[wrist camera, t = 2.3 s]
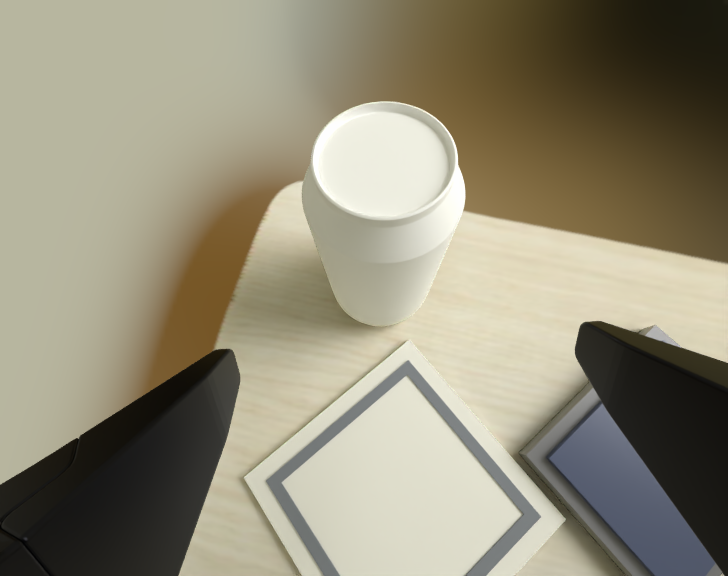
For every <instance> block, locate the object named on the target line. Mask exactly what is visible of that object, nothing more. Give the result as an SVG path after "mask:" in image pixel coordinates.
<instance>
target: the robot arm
mask: <svg viewBox="0 0 728 576" xmlns="http://www.w3.org/2000/svg"><path fill="white" fill-rule="evenodd" d="M575 355H576V358H577V360H578V362H579V364H580V365H581V367H582V369H583V371H584V372H585V374H586V376H587V378H588V379H589V381H590V383H591V385H592V386H593V388H594V390H595V392H596V393H597V395H598V397H599V399H600V400H601V402H602V404H603V405H604V407H605V409H606V410H607V412H608V413H609V415H610V416H611V418H612V419H613V420H614V422H615V423H616V425H617V426H618V427H619V429H620V430H621V432H622V433H623V434H624V436H625V437H626V439H627V440H628V441H629V443H630V444H631V446H632V447H633V448H634V450H635V451H636V453H637V454H638V455H639V457H640V458H641V460H642V461H643V462H644V464H645V465H646V467H647V468H648V469H649V471H650V472H651V474H652V475H653V476H654V478H655V479H656V481H657V482H658V483H659V485H660V486H661V488H662V489H663V490H664V492H665V493H666V495H667V496H668V497H669V499H670V500H671V502H672V503H673V504H674V506H675V507H676V509H677V510H678V511H679V513H680V514H681V516H682V517H683V518H684V520H685V521H686V523H687V524H688V525H689V527H690V528H691V530H692V531H693V532H694V534H695V535H696V537H697V538H698V539H699V541H700V542H701V544H702V545H703V546H704V548H705V549H706V551H707V552H708V553H709V555H710V556H711V558H712V559H713V560H714V562H715V563H716V565H717V566H718V567H719V569H720V570H721V572H722V573H723V574H724V576H728V363H726V362H723V361H720V360H717V359H714V358H711V357H708V356H705V355H702V354H699V353H696V352H693V351H690V350H687V349H684V348H681V347H678V346H675V345H672V344H669V343H665V342H662V341H659V340H656V339H653V338H650V337H647V336H644V335H641V334H638V333H635V332H632V331H629V330H626V329H623V328H620V327H617V326H614V325H611V324H608V323H605V322H602V321H591V322H584V323H582V324H581V326H580V328H579V332H578V337H577V341H576V346H575ZM239 385H240V373H239V369H238V366H237V362H236V359H235V355H234V352H233V351H232V350H231V349H218V350H214V351H212V352H211V353H209V354H208V355H206V356H205V357H203V358H201V359H200V360H198V361H197V362H195V363H194V364H192V365H190V366H189V367H187V368H186V369H184V370H183V371H181V372H179V373H178V374H176V375H175V376H173V377H172V378H170V379H168V380H167V381H165V382H164V383H162V384H161V385H159V386H158V387H156V388H154V389H153V390H151V391H150V392H148V393H146V394H145V395H143V396H142V397H140V398H139V399H137V400H135V401H134V402H132V403H131V404H129V405H128V406H126V407H124V408H123V409H121V410H120V411H118V412H117V413H115V414H113V415H112V416H110V417H109V418H107V419H106V420H104V421H102V422H101V423H99V424H98V425H96V426H95V427H93V428H91V429H90V430H88V431H87V432H85V433H84V434H82V435H81V436H80V437H79V439H78V438H76V439H74V440H72V441H71V442H69V443H68V444H66V445H65V446H63V447H61V448H60V449H58V450H57V451H55V452H54V453H52V454H50V455H49V456H47V457H45V458H44V459H42V460H41V461H39V462H37V463H36V464H34V465H33V466H31V467H29V468H28V469H26V470H24V471H23V472H21V473H19V474H18V475H16V476H14V477H12V478H11V479H9V480H7V481H6V482H4V483H2V484H1V485H0V576H178V575H179V572H180V569H181V567H182V564H183V561H184V558H185V555H186V552H187V550H188V547H189V544H190V541H191V538H192V536H193V533H194V530H195V527H196V524H197V521H198V519H199V516H200V513H201V510H202V507H203V504H204V502H205V499H206V496H207V493H208V490H209V488H210V485H211V482H212V479H213V476H214V473H215V471H216V468H217V465H218V462H219V459H220V457H221V454H222V451H223V448H224V445H225V442H226V439H227V436H228V432H229V428H230V424H231V420H232V415H233V411H234V407H235V402H236V398H237V394H238V389H239Z"/></svg>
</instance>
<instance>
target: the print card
mask: <svg viewBox="0 0 728 576" xmlns="http://www.w3.org/2000/svg"><path fill="white" fill-rule="evenodd" d="M243 478H244V479H245V481H246V483H247V484H248V486H249V488H250V489H251V491H252V493H253V494H254V496H255V498H256V499H257V501H258V503H259V504H260V506H261V508H262V509H263V511H264V513H265V514H266V516H267V518H268V519H269V521H270V523H271V525H272V526H273V528H274V530H275V531H276V533H277V535H278V536H279V538H280V540H281V541H282V543H283V545H284V546H285V548H286V550H287V551H288V553H289V555H290V556H291V558H292V560H293V561H294V563H295V565H296V567H297V568H298V570H299V572H300V573H301V575H302V576H515V575H516V574H517V573H518V572H519V571H520V569H521V568H522V567H523V566H524V565H525V564H526V563H527V562H528V561H529V560H530V558H531V557H532V556H533V555H534V554H535V553H536V552H537V551H538V550H539V549H540V548H541V546H542V545H543V544H544V543H545V542H546V541H547V540H548V539H549V538H550V537H551V536H552V534H553V533H554V532H555V531H556V530H557V529H558V528H559V527H560V526H561V525H562V524H563V522H564V521H565V520H566V519H565V518H564V517H563V515H562V514H561V513H560V512H559V511H558V510H557V509H556V507H555V506H554V505H553V504H552V503H551V502H550V500H549V499H548V498H547V497H546V496H545V495H544V494H543V492H542V491H541V490H540V489H539V488H538V487H537V485H536V484H535V483H534V482H533V481H532V480H531V479H530V477H529V476H528V475H527V474H526V473H525V472H524V471H523V469H522V468H521V467H520V466H519V465H518V464H517V462H516V461H515V460H514V459H513V458H512V457H511V456H510V454H509V453H508V452H507V451H506V450H505V449H504V447H503V446H502V445H501V444H500V443H499V442H498V441H497V439H496V438H495V437H494V436H493V435H492V434H491V433H490V431H489V430H488V429H487V428H486V427H485V426H484V424H483V423H482V422H481V421H480V420H479V419H478V418H477V416H476V415H475V414H474V413H473V412H472V411H471V409H470V408H469V407H468V406H467V405H466V404H465V403H464V401H463V400H462V399H461V398H460V397H459V396H458V395H457V393H456V392H455V391H454V390H453V389H452V388H451V386H450V385H449V384H448V383H447V382H446V381H445V380H444V378H443V377H442V376H441V375H440V374H439V373H438V371H437V370H436V369H435V368H434V367H433V366H432V365H431V363H430V362H429V361H428V360H427V359H426V358H425V357H424V355H423V354H422V353H421V352H420V351H419V350H418V348H417V347H416V346H415V345H414V344H413V343H412V342H411V340H410V339H409V340H408V341H407V342H406V343H404V344H403V345H402V346H401V347H400V348H398V349H397V350H396V351H395V352H394V353H392V354H391V355H390V356H389V357H388V358H386V359H385V360H384V361H383V362H382V363H380V364H379V365H378V366H377V367H376V368H374V369H373V370H372V371H371V372H370V373H368V374H367V375H366V376H365V377H364V378H362V379H361V380H360V381H359V382H358V383H356V384H355V385H354V386H353V387H352V388H350V389H349V390H348V391H347V392H346V393H344V394H343V395H342V396H341V397H340V398H338V399H337V400H336V401H335V402H334V403H332V404H331V405H330V406H329V407H328V408H326V409H325V410H324V411H323V412H322V413H320V414H319V415H318V416H317V417H316V418H314V419H313V420H312V421H311V422H310V423H308V424H307V425H306V426H305V427H304V428H302V429H301V430H300V431H299V432H297V433H296V434H295V435H294V436H293V437H291V438H290V439H289V440H288V441H287V442H285V443H284V444H283V445H282V446H281V447H279V448H278V449H277V450H276V451H275V452H273V453H272V454H271V455H270V456H269V457H267V458H266V459H265V460H264V461H263V462H261V463H260V464H259V465H258V466H257V467H255V468H254V469H253V470H252V471H251V472H249V473H248V474H247V475H246V476H245V477H243Z"/></svg>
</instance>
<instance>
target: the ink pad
mask: <svg viewBox="0 0 728 576" xmlns="http://www.w3.org/2000/svg"><path fill="white" fill-rule="evenodd" d="M638 334H641V335H644V336H647V337H650V338H653V339H656V340H659V341H662V342H665V343H669V344H672V345H675V346H678V347H680V346H679V345H678V344H677V343H676V342H675V341H674V340H672V339H671V338H670V337H669V336H668V335H667V334H665V333H664V332H663V331H662V330H661V329H660V328H658V327H657V326H656V325H654V326H651V327H647V328H644V329H642V330H641V331H640V332H639V333H638ZM681 348H682V347H681ZM519 454H520V455H521V456H522V457H523V459H524V460H525V461H526V462H527V463H528V464H529V465H530V467H531V468H532V469H533V470H534V471H535V472H536V473H537V475H538V476H539V477H540V478H541V479H542V480H543V481H544V482H545V484H546V485H547V486H548V487H549V488H550V489H551V490H552V492H553V493H554V494H555V495H556V496H557V497H558V498H559V500H560V501H561V502H562V503H563V504H564V505H565V506H566V508H567V509H568V510H569V511H570V512H571V513H572V514H573V515H574V517H575V518H576V519H577V520H578V521H579V522H580V523H581V525H582V526H583V527H584V528H585V529H586V530H587V531H588V533H589V534H590V535H591V536H592V537H593V538H594V539H595V541H596V542H597V543H598V544H599V545H600V546H601V547H602V548H603V550H604V551H605V552H606V553H607V554H608V555H609V556H610V558H611V559H612V560H613V561H614V562H615V563H616V564H617V566H618V567H619V568H620V569H621V570H622V571H623V572H624V574H625V575H626V576H720V575H721V574H722V572H721V570H720V569H719V567H718V566H717V565H716V563H715V562H714V560H713V559H712V558H711V556H710V555H709V553H708V552H707V551H706V549H705V548H704V546H703V545H702V544H701V542H700V541H699V539H698V538H697V537H696V535H695V534H694V532H693V531H692V530H691V528H690V527H689V525H688V524H687V523H686V521H685V520H684V518H683V517H682V516H681V514H680V513H679V511H678V510H677V509H676V507H675V506H674V504H673V503H672V502H671V500H670V499H669V497H668V496H667V495H666V493H665V492H664V490H663V489H662V488H661V486H660V485H659V483H658V482H657V481H656V479H655V478H654V476H653V475H652V474H651V472H650V471H649V469H648V468H647V467H646V465H645V464H644V462H643V461H642V460H641V458H640V457H639V455H638V454H637V453H636V451H635V450H634V448H633V447H632V446H631V444H630V443H629V441H628V440H627V439H626V437H625V436H624V434H623V433H622V432H621V430H620V429H619V427H618V426H617V425H616V423H615V422H614V420H613V419H612V418H611V416H610V415H609V413H608V412H607V410H606V409H605V407H604V405H603V404H602V402H601V400H600V399H599V397H598V395H597V393H596V392H595V390H594V388H593V386H592V385H591V383H590V382H589V383H588V384H587V385H586V386H585V387H584V388H583V389H582V390H581V391H580V392H579V393H578V394H577V395H576V396H575V397H574V398H573V399H572V400H571V401H570V402H569V403H568V404H567V405H566V406H565V407H564V408H563V409H562V410H561V411H560V412H559V413H558V414H557V415H556V416H555V417H554V418H553V419H552V420H551V421H550V422H549V423H548V424H547V425H546V426H545V427H544V428H543V429H542V430H541V431H540V432H539V433H538V434H537V435H536V436H535V437H534V438H533V439H532V440H531V441H530V442H529V443H528V444H527V445H526V446H525V447H524V448H523V449H522V450H521V451H520V452H519Z"/></svg>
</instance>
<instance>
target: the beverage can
mask: <svg viewBox="0 0 728 576" xmlns="http://www.w3.org/2000/svg"><path fill="white" fill-rule="evenodd" d="M464 203H465V185H464V180H463V177H462V174H461V171H460V169H459V166H458V155H457V149H456V146H455V143H454V141H453V138H452V136H451V135H450V133H449V132H448V130H447V129H446V128H445V127H444V125H443V124H442V123H441V122H440V121H438V120H437V119H436V118H435V117H433V116H432V115H431V114H429V113H427V112H425V111H424V110H421V109H419V108H417V107H414V106H411V105H408V104H403V103H398V102H373V103H367V104H362V105H359V106H356V107H353V108H351V109H348V110H346V111H344V112H343V113H341V114H339V115H338V116H336V117H335V118H333V119H332V120H331V121H330V122H329V123H328V124H327V125H326V126H325V127H324V128H323V129H322V131H321V132H320V134H319V135H318V137H317V139H316V141H315V143H314V146H313V149H312V154H311V164H310V166H309V168H308V170H307V172H306V175H305V178H304V181H303V186H302V204H303V209H304V213H305V216H306V219H307V221H308V224H309V227H310V230H311V233H312V236H313V238H314V241H315V244H316V247H317V250H318V252H319V255H320V258H321V261H322V263H323V266H324V269H325V272H326V275H327V277H328V280H329V283H330V286H331V288H332V291H333V293H334V296H335V298H336V300H337V302H338V304H339V305H340V306H341V308H342V309H343V310H344V311H345V312H346V313H347V314H348V315H349V316H351V317H352V318H353V319H355V320H357V321H359V322H361V323H364V324H367V325H371V326H390V325H394V324H398V323H400V322H402V321H404V320H406V319H408V318H409V317H411V316H412V315H413V314H414V313H415V312H416V311H417V310H418V309H419V308H420V307H421V305H422V304H423V302H424V300H425V299H426V297H427V294H428V292H429V290H430V288H431V285H432V283H433V281H434V279H435V276H436V274H437V272H438V269H439V267H440V265H441V262H442V260H443V258H444V255H445V253H446V251H447V248H448V246H449V244H450V241H451V239H452V237H453V234H454V232H455V230H456V227H457V225H458V223H459V220H460V218H461V215H462V212H463V208H464Z"/></svg>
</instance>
